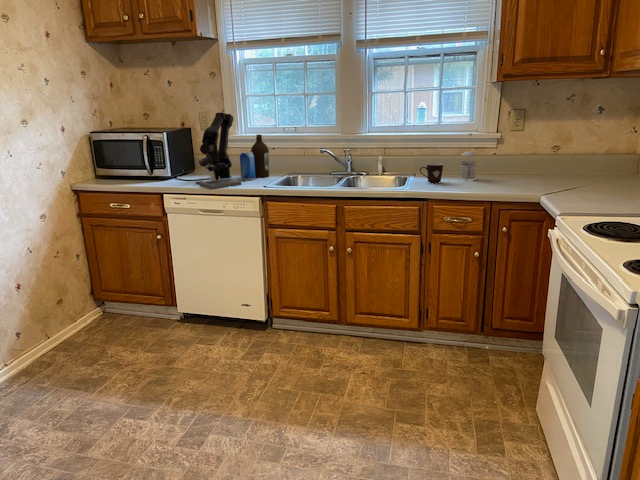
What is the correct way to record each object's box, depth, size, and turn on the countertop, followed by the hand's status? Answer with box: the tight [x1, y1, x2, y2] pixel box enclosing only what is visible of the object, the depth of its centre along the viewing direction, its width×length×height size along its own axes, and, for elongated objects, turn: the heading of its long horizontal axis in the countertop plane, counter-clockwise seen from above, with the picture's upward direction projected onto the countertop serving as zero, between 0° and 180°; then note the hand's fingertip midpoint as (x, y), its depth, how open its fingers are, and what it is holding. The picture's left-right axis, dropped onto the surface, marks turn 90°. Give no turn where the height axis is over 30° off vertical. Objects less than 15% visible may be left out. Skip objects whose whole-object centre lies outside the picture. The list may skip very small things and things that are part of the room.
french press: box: [459, 133, 477, 180], centre depth 260 cm, size 10×12×25 cm
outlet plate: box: [199, 177, 242, 190], centre depth 265 cm, size 18×14×2 cm
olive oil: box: [250, 134, 270, 179], centre depth 287 cm, size 11×11×25 cm
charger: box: [209, 171, 221, 181], centre depth 278 cm, size 4×4×6 cm
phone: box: [195, 180, 205, 186], centre depth 271 cm, size 4×7×1 cm, turn 40°
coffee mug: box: [419, 162, 444, 184], centre depth 257 cm, size 12×9×10 cm
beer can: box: [239, 151, 256, 182], centre depth 280 cm, size 8×8×16 cm
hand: (215, 179), depth 278 cm, fingers closed on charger, 4 cm apart
